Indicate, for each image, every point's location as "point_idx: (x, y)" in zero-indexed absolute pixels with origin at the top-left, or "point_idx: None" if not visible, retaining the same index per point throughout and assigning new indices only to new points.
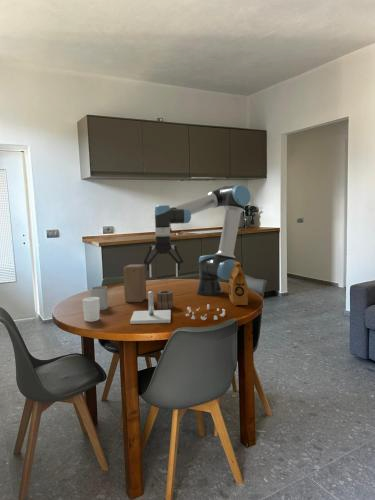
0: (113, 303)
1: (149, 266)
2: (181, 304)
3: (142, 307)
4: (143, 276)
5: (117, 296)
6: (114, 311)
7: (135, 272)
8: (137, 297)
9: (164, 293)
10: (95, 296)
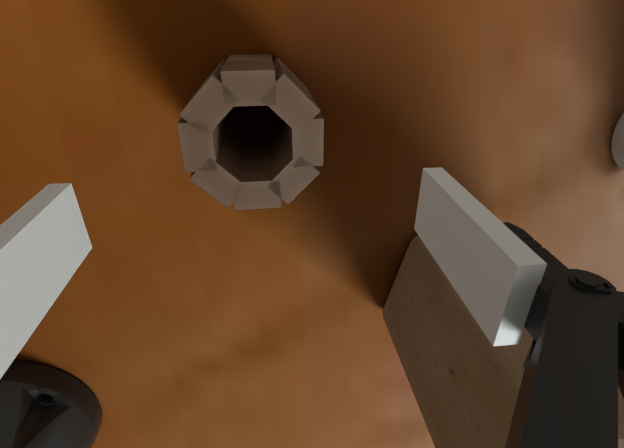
0: (564, 227)
1: (526, 246)
2: (148, 176)
3: (408, 123)
4: (453, 397)
5: None
6: (593, 37)
7: None
8: None
9: (250, 89)
10: None
